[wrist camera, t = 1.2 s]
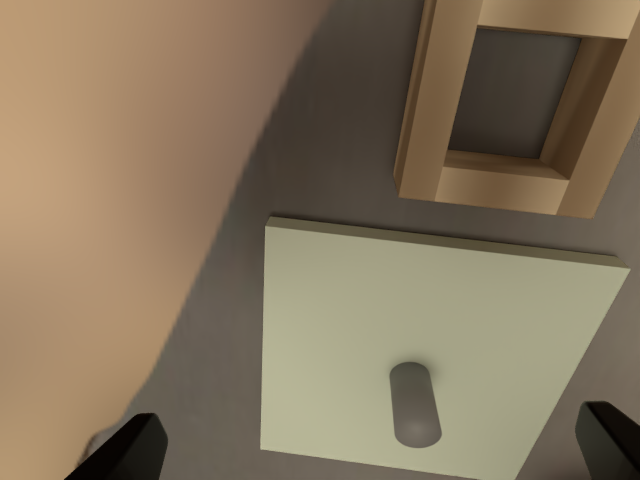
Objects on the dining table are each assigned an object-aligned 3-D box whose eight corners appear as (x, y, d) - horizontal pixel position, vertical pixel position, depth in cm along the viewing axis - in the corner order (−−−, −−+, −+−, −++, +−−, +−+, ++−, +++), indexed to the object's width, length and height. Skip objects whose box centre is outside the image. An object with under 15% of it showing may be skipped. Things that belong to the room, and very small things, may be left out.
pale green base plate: (616, 256, 20) (689, 319, 16) (506, 467, 28) (533, 546, 24) (270, 216, 21) (245, 265, 16) (264, 433, 29) (247, 505, 25)
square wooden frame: (637, -3, 15) (698, -11, 12) (559, 192, 19) (592, 219, 16) (428, -22, 15) (443, -33, 13) (393, 174, 19) (398, 197, 16)
